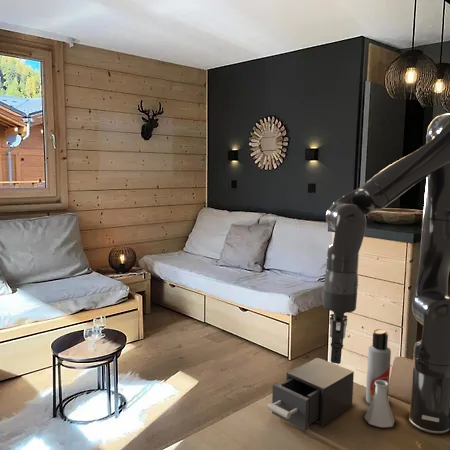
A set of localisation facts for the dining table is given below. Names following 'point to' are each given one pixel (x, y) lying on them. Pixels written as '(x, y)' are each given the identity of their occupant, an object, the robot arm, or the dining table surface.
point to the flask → (380, 407)
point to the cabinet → (327, 386)
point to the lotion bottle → (378, 363)
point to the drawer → (296, 403)
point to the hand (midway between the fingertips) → (335, 355)
